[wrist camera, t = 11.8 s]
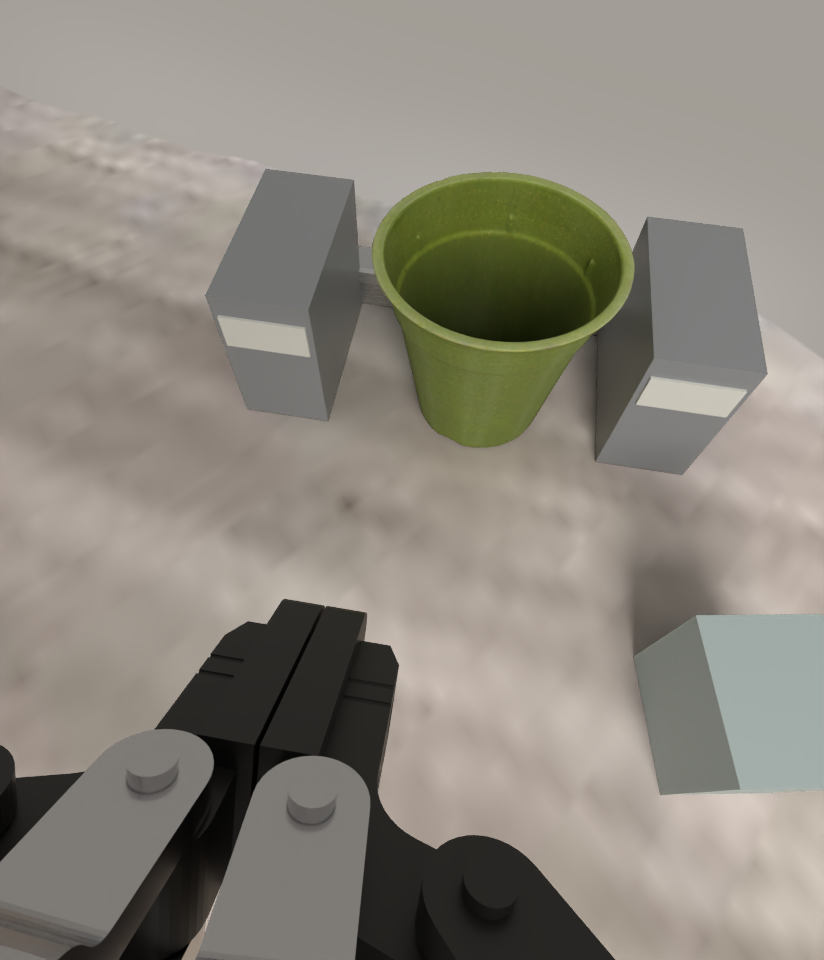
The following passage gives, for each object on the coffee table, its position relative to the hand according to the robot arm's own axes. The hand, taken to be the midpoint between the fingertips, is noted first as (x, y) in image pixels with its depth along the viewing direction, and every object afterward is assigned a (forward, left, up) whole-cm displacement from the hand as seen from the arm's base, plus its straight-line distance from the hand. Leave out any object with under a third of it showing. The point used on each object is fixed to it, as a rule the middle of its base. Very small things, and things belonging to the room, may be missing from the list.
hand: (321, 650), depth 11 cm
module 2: (+13, +22, -18) cm, 32 cm away
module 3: (+15, +4, -19) cm, 24 cm away
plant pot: (+3, +20, -19) cm, 28 cm away
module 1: (-8, +22, -18) cm, 30 cm away
